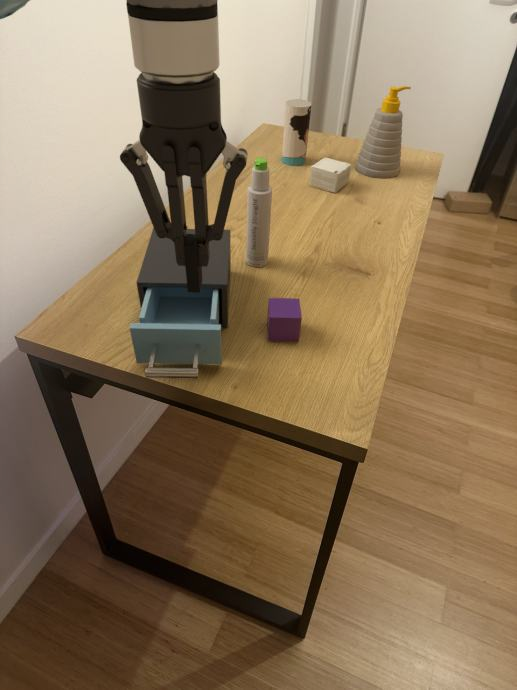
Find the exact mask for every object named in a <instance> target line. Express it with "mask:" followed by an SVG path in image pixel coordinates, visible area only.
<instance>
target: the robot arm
mask: <svg viewBox="0 0 517 690" xmlns="http://www.w3.org/2000/svg"><path fill="white" fill-rule="evenodd" d="M30 1H31V0H0V20H2V19H5V18H8V17H10V16H13V15H14V14H15V13H16V12H18V11H19V10H20V9H22V8H24V7H26V5H27V3H29V2H30ZM125 1H126V3H125V4H126V12H127V18H128V27H129V33H130V34H129V35H130V41H131V42H130V43H131V50H132V59H133V65H134V67H135V69H137V70H138V71H139V72H140V73H139V74H138V76H137V78H136V87H137V93H138V101H139V109H140V116H141V122H142V123H141V130H140V132H139V134H138V135H139V136H138V137H139V139H138V140H137V141H135V142H134V143H128V144H127V145H126V146H125V147H124V149H122V151H121V153H120V155H119V160H120V162H121V163H122V165H124V167H125V168H126V170H127V171H128V172H129V173H130V174H131V175H132V178H133V179H134V182H135V185H136V186H137V191H138V192H139V194H140V197H141V199H142V202H143V205H144V207H145V210H146V212H147V215H148V217H149V219H150V222H151V225H152V227H153V228H154V229H155V232H156V234H157V236H158V237H159V238H169V239H171V240H172V241H173V242H174V245H175V254H176V262H177V264H178V266H185V268H186V278H187V289H188V292H198V293H200V289H201V285H202V280H203V279H202V266H203V267H207V265H208V263H209V258H210V253H209V242H210V241H212V240H216V241H219V240H221V238H222V236H223V231H224V230H225V227H226V223H227V218H228V214H229V212H230V207H231V202H232V199H233V194H234V190H235V186H236V182H237V180H238V178H239V177H240V175H241V174H242V172H243V171H244V169H245V168H246V166H247V162H248V151H247V150H246V149H245V148H243V147H242V148H238V147H236V146H235V145H234V144H232V143H230V142H229V141H227V140H228V138H227V133H226V131H225V129H224V127H223V125H222V107H221V106H222V105H221V79H220V77H219V76H218V74H217V73H216V71H217V70H218V69H219V67H220V64H221V63H220V36H219V33H220V31H219V11H218V9H219V8H218V0H125ZM221 154H222V156H223V160H222V166H223V168H224V169H225V173H224V178H223V181H222V187H221V191H220V196H219V199H218V204H217V209H216V213H215V217H214V222H213V223H212V224H210V223H209V222H210V221H209V207H208V206H209V205H208V189H207V188H208V187H207V173H208V172H209V171H210V170H211V168H212V167H213V166H214V164H215V163H216V161H217V160H218V158H219V157H220V156H221ZM149 156H150V157H151V159H152V160H153V161H154V162H155V163H156V165H157V166H158V167H159V168H160V169H161V171H163V172H164V181H165V186H166V189H167V196H168V198H167V199H168V207H169V215H168V211H167V209H166V206H165V204H164V200H163V198H162V195H161V193H160V191H159V188H158V185H157V182H156V180H155V177H154V174H153V172H152V168H151V166H150V164H149V162H148V160H149ZM183 176H186V177H189V180H190V181H189V182H190V187H191V195H192V196H191V197H192V207H193V209H192V210H193V221H194V229H195V234H187V235H186V231H187V229H188V225H187V217H186V216H187V215H186V207H185V206H186V205H185V193H184V182H183V181H184V180H183ZM169 216H170V217H169Z"/></svg>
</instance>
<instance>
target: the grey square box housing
mask: <svg viewBox="0 0 517 690" xmlns="http://www.w3.org/2000/svg"><path fill="white" fill-rule="evenodd" d="M231 231H232V230H231V229H224V231H223V236H222V238H221V240H219V241H216V240H212V241H210V242H209V253H210V258H209V263H208V265H207V267H203V266H202V279H203V280H202V285H201V288H207V289H221V303H220V317H219V325H221V329H222V328H223V329H225V328H226V329H227V328H228V327H229V310H230V293H231V292H230V290H231V275H232V274H231V271H232V268H231V267H232V262H231V260H232V258H231V257H232V256H231V255H232V253H231V252H232V251H231V246H232V245H231V235H232V234H231V233H232V232H231ZM187 234H195V228H187V231H186V235H187ZM137 276H138V277H137V279H136V287H137V288H136V289H137V293H138V299H139V304H140V310H141V309H142V305H143V301H144V298H145V294H146V290H147V287H161V288H187V278H186V268H185V266H178V264H177V262H176V254H175V245H174V242H173V241H172V240H171V239H169V238H159V237H158V236H157V234H156V232H155V229H154V227H153V228H152V231H151V234H150V237H149V241H148V243H147V247H146V250H145V254H144V257H143V260H142V263H141V267H140V270H139V273H138V275H137Z"/></svg>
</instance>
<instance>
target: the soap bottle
mask: <svg viewBox="0 0 517 690" xmlns="http://www.w3.org/2000/svg"><path fill="white" fill-rule="evenodd" d="M411 89H412V87H411V86H406V85H403V86H398V87H397V86H389V92H388V95H386V97H385V98H383V99H382V101H381V102H382V103H381V107H379V108H377V109H376V110H375V112H374V115H373V117H372V120H371V123H370V125H369V127H368V131H367V133H366V135H365V138H364V139H363V143H362V145H361V147H360V151H359V153H358V155H357V158H356V161H355V163H354V168H355V170H356V171H357V172H358V173H359V174H360V175H363V176H366V177H369V178H370V177H371V178H375V179H391V178H394V177H397V176H398V175H399V174H400V172H401V162H402V161H401V160H402V159H401V157H402V138H403V137H402V135H403V116H404V115H403V112H402V110H400V107H401V100H399V96H398V93H399V92H403V91H404V90H411Z"/></svg>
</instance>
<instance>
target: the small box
mask: <svg viewBox="0 0 517 690" xmlns="http://www.w3.org/2000/svg"><path fill="white" fill-rule="evenodd" d="M351 170H352V164H351V163H348V162H345V161H341V160H337V159H332V158H329V157H326V156H324V157H323V158H322V159H320V160H319V161H317V162H315V163H314V164H313V165H311V167H310V174H309V175H310V176H309V184H308V185H309V186H310V187H313V188H317V189H319V190H323V191H326V192H330V193H333V194H336V193H338V192H339V191H341V189H342V188H344V187H345V186H346V185H347V184H348V183H349V180H350V173H351Z"/></svg>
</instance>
